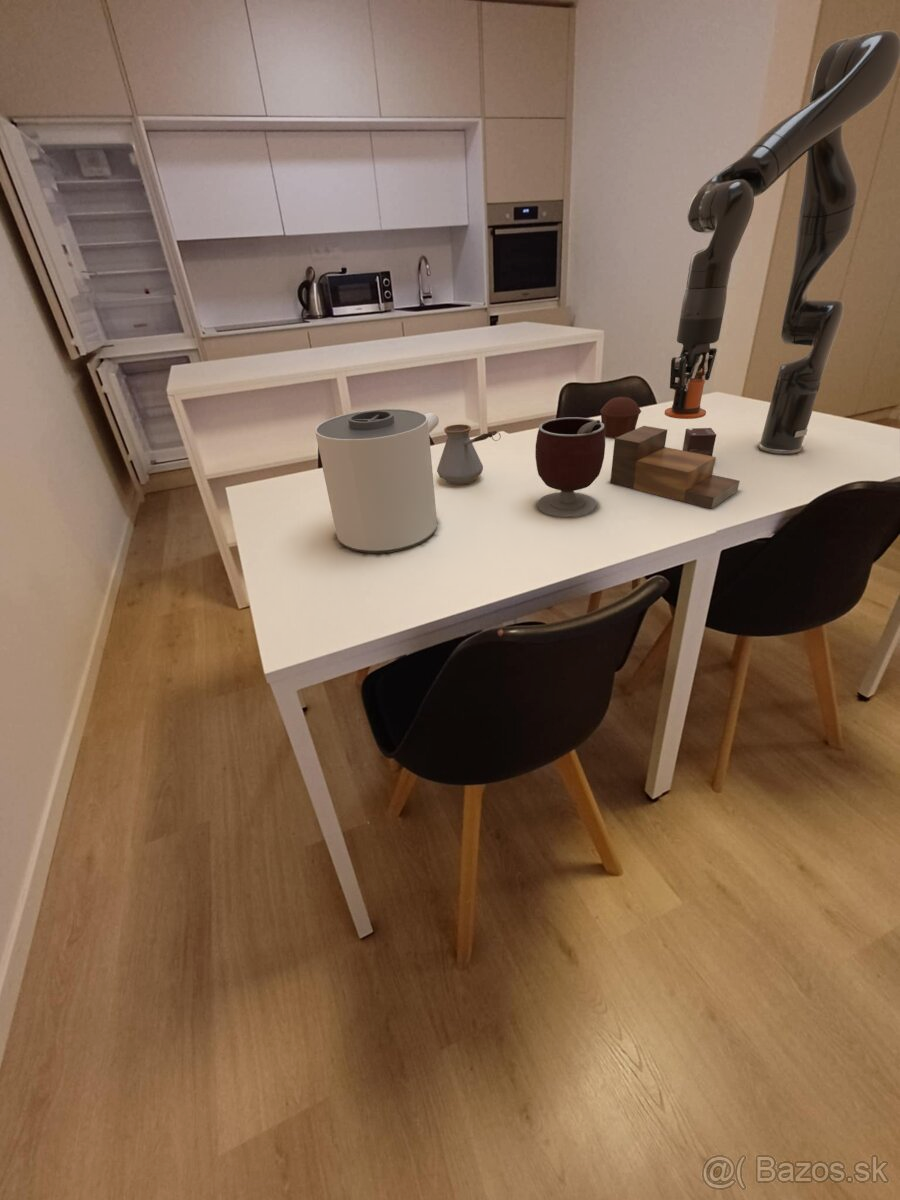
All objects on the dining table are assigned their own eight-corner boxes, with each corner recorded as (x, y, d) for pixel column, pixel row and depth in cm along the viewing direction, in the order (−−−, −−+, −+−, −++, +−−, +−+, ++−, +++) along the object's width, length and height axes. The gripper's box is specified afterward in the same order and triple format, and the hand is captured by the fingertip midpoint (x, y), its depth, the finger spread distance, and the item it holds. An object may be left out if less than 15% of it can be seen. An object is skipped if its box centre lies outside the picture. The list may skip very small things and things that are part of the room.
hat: (676, 407, 115) (681, 375, 111) (712, 412, 109) (719, 378, 106) (657, 415, 110) (661, 382, 107) (693, 421, 105) (700, 386, 101)
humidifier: (362, 507, 121) (344, 402, 109) (449, 511, 116) (441, 401, 103) (319, 550, 104) (292, 432, 92) (419, 558, 99) (404, 433, 86)
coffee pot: (429, 479, 134) (423, 419, 125) (466, 468, 138) (463, 409, 130) (478, 504, 118) (475, 437, 110) (518, 491, 123) (518, 426, 115)
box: (710, 465, 128) (717, 434, 124) (684, 465, 130) (689, 435, 126) (706, 456, 133) (711, 427, 129) (680, 456, 135) (685, 427, 131)
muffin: (596, 428, 160) (599, 394, 155) (634, 427, 158) (638, 392, 153) (600, 440, 150) (603, 404, 145) (641, 439, 149) (645, 402, 143)
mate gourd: (522, 501, 118) (523, 409, 107) (575, 488, 122) (580, 398, 111) (561, 527, 106) (566, 426, 95) (618, 512, 110) (629, 413, 99)
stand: (638, 468, 130) (643, 425, 124) (737, 491, 114) (749, 443, 108) (610, 482, 123) (614, 438, 118) (711, 509, 108) (722, 458, 102)
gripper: (702, 319, 94) (685, 417, 103) (738, 310, 101) (719, 402, 111) (663, 318, 98) (650, 412, 108) (700, 310, 106) (685, 397, 115)
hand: (685, 406), depth 109 cm, fingers closed on hat, 5 cm apart
